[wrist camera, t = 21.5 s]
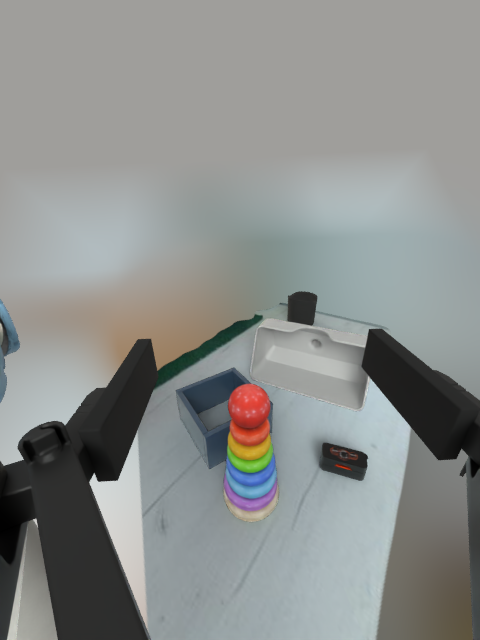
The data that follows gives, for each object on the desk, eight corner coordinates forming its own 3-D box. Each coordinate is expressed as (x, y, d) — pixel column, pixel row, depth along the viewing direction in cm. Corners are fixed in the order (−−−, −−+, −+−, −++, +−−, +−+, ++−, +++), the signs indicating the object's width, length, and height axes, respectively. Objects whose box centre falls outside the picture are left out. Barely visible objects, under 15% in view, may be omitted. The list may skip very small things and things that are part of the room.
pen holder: (318, 328, 84) (321, 300, 80) (290, 330, 84) (292, 301, 79) (309, 317, 93) (311, 290, 88) (283, 318, 92) (285, 292, 88)
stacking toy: (289, 491, 37) (299, 389, 29) (253, 540, 32) (253, 431, 24) (249, 458, 42) (247, 363, 34) (212, 495, 37) (200, 393, 29)
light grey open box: (367, 369, 63) (377, 324, 58) (362, 413, 50) (375, 360, 45) (272, 347, 74) (274, 307, 68) (248, 378, 61) (248, 332, 56)
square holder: (180, 418, 50) (175, 390, 47) (235, 393, 56) (234, 367, 53) (209, 469, 40) (205, 438, 37) (271, 432, 46) (273, 403, 44)
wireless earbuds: (369, 485, 37) (374, 471, 36) (319, 470, 40) (321, 456, 38) (366, 458, 41) (370, 444, 40) (321, 446, 44) (323, 432, 42)
